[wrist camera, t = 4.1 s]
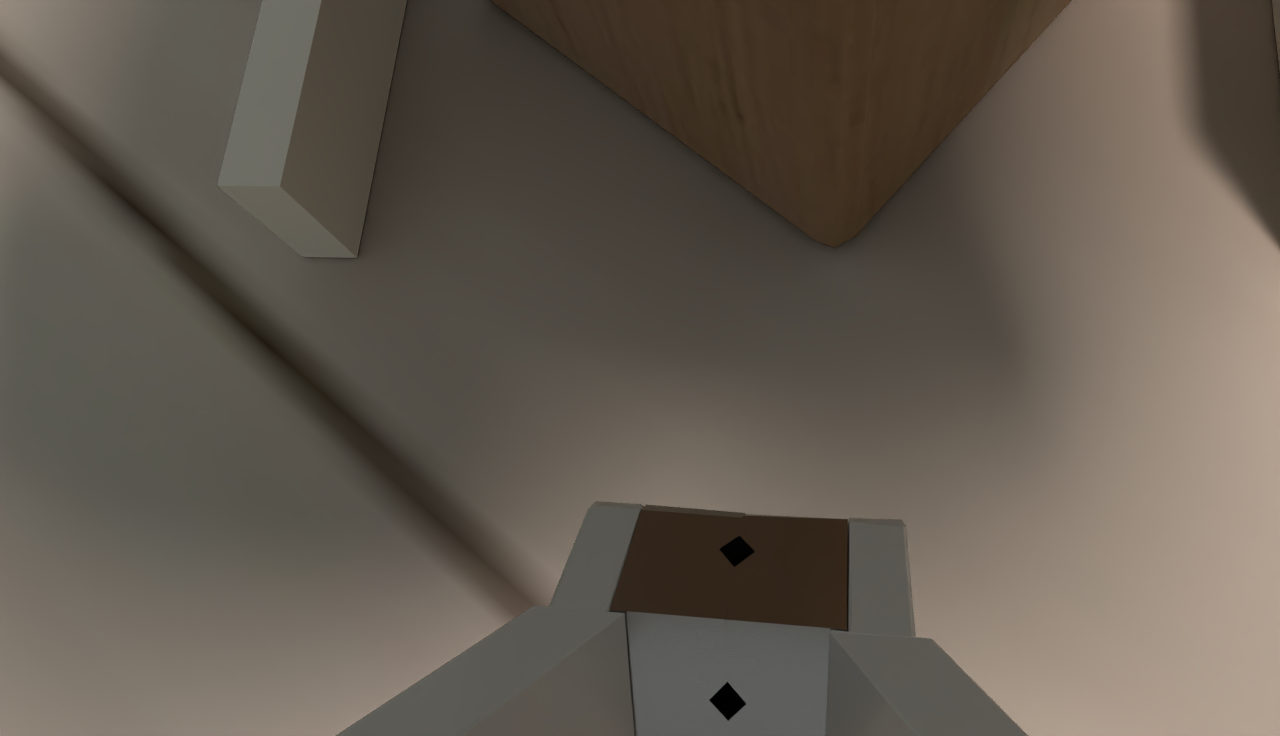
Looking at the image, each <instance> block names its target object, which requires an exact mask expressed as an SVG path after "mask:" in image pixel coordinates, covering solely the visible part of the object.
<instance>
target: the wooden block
mask: <svg viewBox="0 0 1280 736" xmlns="http://www.w3.org/2000/svg"><path fill="white" fill-rule="evenodd" d="M491 1H492V2H493V3H495V4H496V5H497V6H499V7H500V8H502V9H503V10H504V11H506V12H507V13H508V14H510V15H511V16H512V17H514V18H515V19H516V20H518V21H519V22H520V23H522V24H523V25H525V26H526V27H527V28H529V29H530V30H531V31H533V32H534V33H535V34H537V35H538V36H539V37H541V38H542V39H543V40H545V41H546V42H548V43H549V44H550V45H552V46H553V47H554V48H556V49H557V50H558V51H560V52H561V53H562V54H564V55H565V56H566V57H568V58H569V59H570V60H572V61H573V62H575V63H576V64H577V65H579V66H580V67H581V68H583V69H584V70H585V71H587V72H588V73H589V74H591V75H592V76H593V77H595V78H596V79H598V80H599V81H600V82H602V83H603V84H604V85H606V86H607V87H608V88H610V89H611V90H612V91H614V92H615V93H616V94H618V95H619V96H621V97H622V98H623V99H625V100H626V101H627V102H629V103H630V104H631V105H633V106H634V107H635V108H637V109H638V110H639V111H641V112H642V113H644V114H645V115H646V116H648V117H649V118H650V119H652V120H653V121H654V122H656V123H657V124H658V125H660V126H661V127H662V128H664V129H665V130H667V131H668V132H669V133H671V134H672V135H673V136H675V137H676V138H677V139H679V140H680V141H681V142H683V143H684V144H685V145H687V146H688V147H690V148H691V149H692V150H694V151H695V152H696V153H698V154H699V155H700V156H702V157H703V158H704V159H706V160H707V161H708V162H710V163H711V164H713V165H714V166H715V167H717V168H718V169H719V170H721V171H722V172H723V173H725V174H726V175H727V176H729V177H730V178H731V179H733V180H734V181H735V182H737V183H738V184H740V185H741V186H742V187H744V188H745V189H746V190H748V191H749V192H750V193H752V194H753V195H754V196H756V197H757V198H758V199H760V200H761V201H763V202H764V203H765V204H767V205H768V206H769V207H771V208H772V209H773V210H775V211H776V212H777V213H779V214H780V215H781V216H783V217H784V218H786V219H787V220H788V221H790V222H791V223H792V224H794V225H795V226H796V227H798V228H799V229H800V230H802V231H803V232H804V233H806V234H807V235H809V236H810V237H811V238H813V239H814V240H815V241H818V242H820V243H822V244H825V245H828V246H831V247H834V248H836V247H837V246H839V245H841V244H842V243H844V242H846V241H847V240H849V239H851V238H853V237H855V236H856V235H857V234H858V233H859V232H860V231H861V230H862V228H863V227H864V226H865V225H866V224H867V223H868V222H869V221H870V220H871V219H872V217H873V216H874V215H875V214H876V213H877V212H878V211H879V210H880V209H881V208H882V207H883V205H884V204H885V203H886V202H887V201H888V200H889V199H890V198H891V197H892V196H893V195H894V193H895V192H896V191H897V190H898V189H899V188H900V187H901V186H902V185H903V184H904V183H905V181H906V180H907V179H908V178H909V177H910V176H911V175H912V174H913V173H914V172H915V171H916V169H917V168H918V167H919V166H920V165H921V164H922V163H923V162H924V161H925V160H926V159H927V157H928V156H929V155H930V154H931V153H932V152H933V151H934V150H935V149H936V148H937V147H938V145H939V144H940V143H941V142H942V141H943V140H944V139H945V138H946V137H947V136H948V135H949V133H950V132H951V131H952V130H953V129H954V128H955V127H956V126H957V125H958V124H959V123H960V121H961V120H962V119H963V118H964V117H965V116H966V115H967V114H968V113H969V112H970V111H971V109H972V108H973V107H974V106H975V105H976V104H977V103H978V102H979V101H980V100H981V99H982V97H983V96H984V95H985V94H986V93H987V92H988V91H989V90H990V89H991V88H992V87H993V85H994V84H995V83H996V82H997V81H998V80H999V79H1000V78H1001V77H1002V76H1003V75H1004V73H1005V72H1006V71H1007V70H1008V69H1009V68H1010V67H1011V66H1012V65H1013V64H1014V63H1015V61H1016V60H1017V59H1018V58H1019V57H1020V56H1021V55H1022V54H1023V53H1024V52H1025V51H1026V49H1027V48H1028V47H1029V46H1030V45H1031V44H1032V43H1033V42H1034V41H1035V40H1036V39H1037V37H1038V36H1039V35H1040V34H1041V33H1042V32H1043V31H1044V30H1045V29H1046V28H1047V26H1048V25H1049V24H1050V23H1051V22H1052V21H1053V20H1054V19H1055V18H1056V17H1057V16H1058V14H1059V13H1060V12H1061V11H1062V10H1063V9H1064V8H1065V7H1066V6H1067V5H1068V4H1069V2H1070V1H1071V0H491Z"/></svg>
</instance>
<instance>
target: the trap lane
mask: <svg viewBox="0 0 1280 736" xmlns="http://www.w3.org/2000/svg"><path fill="white" fill-rule="evenodd" d="M406 3H407V0H262V3H261V8H260V12H259V16H258V20H257V24H256V28H255V32H254V36H253V40H252V44H251V48H250V52H249V56H248V61H247V65H246V69H245V73H244V77H243V81H242V85H241V89H240V93H239V97H238V101H237V105H236V109H235V114H234V118H233V122H232V126H231V130H230V134H229V138H228V142H227V146H226V150H225V154H224V158H223V162H222V167H221V171H220V175H219V179H218V183H217V187H219V188H220V189H221V190H222V191H223V192H225V193H226V194H227V195H228V196H229V197H231V198H232V199H233V200H234V201H235V202H237V203H238V204H239V205H240V206H241V207H243V208H244V209H245V210H246V211H247V212H249V213H250V214H251V215H252V216H253V217H255V218H256V219H257V220H258V221H260V222H261V223H262V224H263V225H264V226H266V227H267V228H268V229H269V230H270V231H272V232H273V233H274V234H275V235H276V236H278V237H279V238H280V239H281V240H282V241H284V242H285V243H286V244H287V245H288V246H290V247H291V248H292V249H293V250H294V251H296V252H297V253H298V254H299V255H300V256H302V257H335V258H357V256H358V250H359V245H360V240H361V235H362V230H363V225H364V219H365V214H366V209H367V204H368V199H369V194H370V189H371V183H372V178H373V173H374V168H375V163H376V158H377V153H378V147H379V142H380V137H381V132H382V127H383V122H384V117H385V111H386V106H387V101H388V96H389V91H390V86H391V81H392V75H393V70H394V65H395V60H396V55H397V50H398V45H399V39H400V34H401V29H402V24H403V19H404V14H405V8H406ZM1272 7H1273V16H1274V25H1275V34H1276V44H1277V53H1278V62H1279V71H1280V0H1272Z"/></svg>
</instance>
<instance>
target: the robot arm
mask: <svg viewBox="0 0 1280 736" xmlns="http://www.w3.org/2000/svg"><path fill="white" fill-rule="evenodd" d="M336 736H1028V735H1027V734H1026V733H1025V732H1024V731H1023V730H1022V729H1021V728H1020V727H1019V726H1018V725H1017V724H1016V723H1015V722H1014V721H1013V720H1012V719H1011V718H1010V717H1009V716H1008V715H1007V714H1006V713H1005V712H1004V711H1003V710H1002V709H1001V708H1000V707H999V706H998V705H997V704H996V703H995V702H994V701H993V700H992V699H991V698H990V697H989V696H988V695H987V694H986V693H985V692H984V691H983V690H982V689H981V688H980V687H979V686H978V685H977V684H976V683H975V682H974V681H973V680H972V679H971V678H970V677H969V676H968V675H967V674H966V673H965V672H964V671H963V670H962V669H961V668H960V667H959V666H958V665H957V664H956V662H955V661H954V660H953V659H952V658H951V657H950V656H949V655H948V654H947V653H946V652H945V651H944V650H943V649H942V648H941V647H940V646H939V645H938V644H937V643H936V642H935V641H934V640H932V639H926V638H916V637H915V625H914V614H913V602H912V591H911V579H910V568H909V556H908V545H907V533H906V525H905V524H904V523H903V521H902V520H893V519H861V518H849V522H848V519H830V518H810V517H791V516H772V515H753V514H745V513H740V512H728V511H716V510H704V509H692V508H680V507H668V506H656V505H645V506H643V505H641V504H629V503H613V502H597V501H596V502H595V503H594V504H593V505H592V506H591V507H590V508H589V509H588V510H587V513H586V515H585V518H584V520H583V523H582V525H581V528H580V530H579V533H578V535H577V538H576V540H575V543H574V545H573V548H572V550H571V553H570V555H569V558H568V560H567V563H566V565H565V568H564V570H563V573H562V575H561V578H560V580H559V583H558V585H557V588H556V590H555V593H554V595H553V598H552V600H551V603H550V605H549V607H547V606H533V607H531V608H530V609H528V610H527V611H525V612H524V613H522V614H521V615H519V616H518V617H516V618H515V619H513V620H512V621H510V622H509V623H507V624H505V625H504V626H502V627H501V628H499V629H498V630H496V631H495V632H493V633H492V634H490V635H489V636H487V637H486V638H484V639H483V640H481V641H479V642H478V643H476V644H475V645H473V646H472V647H470V648H469V649H467V650H466V651H464V652H463V653H461V654H460V655H458V656H457V657H455V658H453V659H452V660H450V661H449V662H447V663H446V664H444V665H443V666H441V667H440V668H438V669H437V670H435V671H434V672H432V673H431V674H429V675H428V676H426V677H424V678H423V679H421V680H420V681H418V682H417V683H415V684H414V685H412V686H411V687H409V688H408V689H406V690H405V691H403V692H402V693H400V694H398V695H397V696H395V697H394V698H392V699H391V700H389V701H388V702H386V703H385V704H383V705H382V706H380V707H379V708H377V709H376V710H374V711H372V712H371V713H369V714H368V715H366V716H365V717H363V718H362V719H360V720H359V721H357V722H356V723H354V724H353V725H351V726H350V727H348V728H347V729H345V730H343V731H342V732H340V733H339V734H337V735H336Z"/></svg>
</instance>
